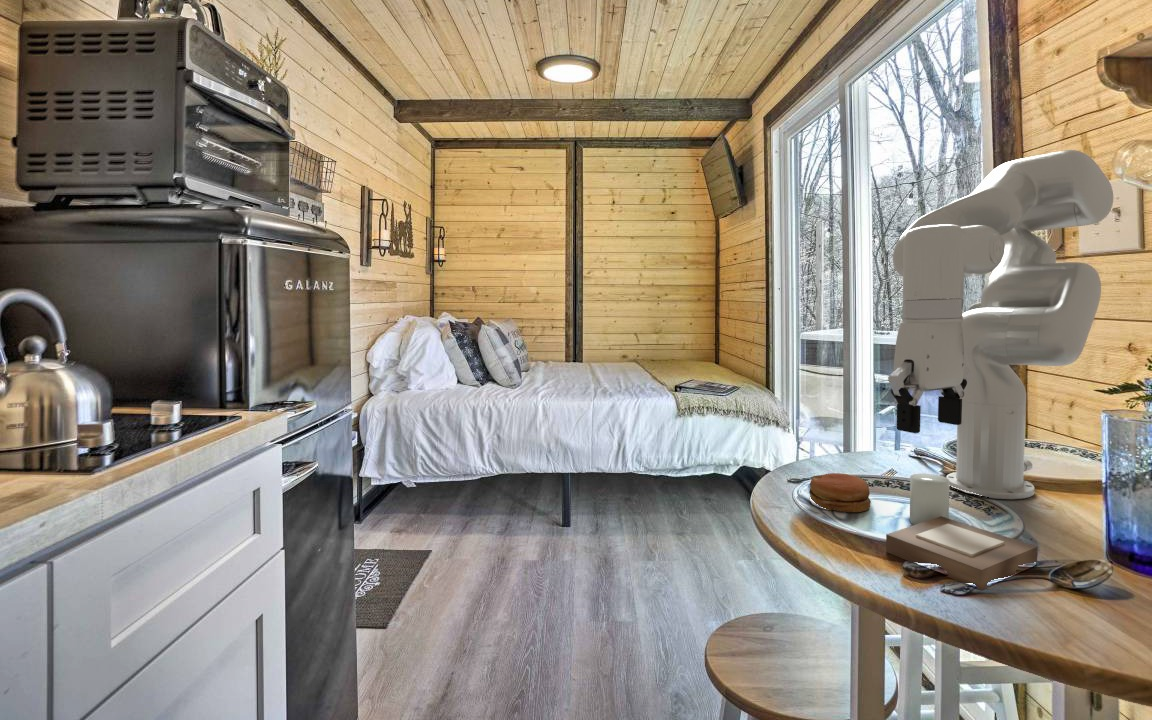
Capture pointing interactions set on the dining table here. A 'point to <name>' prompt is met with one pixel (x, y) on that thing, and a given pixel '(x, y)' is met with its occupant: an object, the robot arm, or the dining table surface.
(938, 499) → the ceramic cylinder
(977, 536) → the walnut base
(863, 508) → the burger
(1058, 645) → the dining table surface
